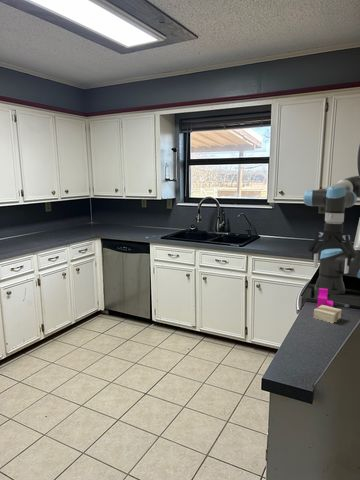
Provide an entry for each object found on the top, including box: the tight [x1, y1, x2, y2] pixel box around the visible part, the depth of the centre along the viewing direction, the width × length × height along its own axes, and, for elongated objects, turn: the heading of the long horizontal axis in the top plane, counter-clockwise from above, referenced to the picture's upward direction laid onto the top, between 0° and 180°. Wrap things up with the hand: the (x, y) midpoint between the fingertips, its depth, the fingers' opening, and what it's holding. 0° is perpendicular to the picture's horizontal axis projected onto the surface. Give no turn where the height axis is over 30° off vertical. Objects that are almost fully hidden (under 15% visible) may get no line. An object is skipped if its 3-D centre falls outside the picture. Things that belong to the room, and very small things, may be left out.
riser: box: [313, 305, 342, 324], centre depth 144 cm, size 8×8×5 cm
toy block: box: [316, 288, 334, 308], centre depth 158 cm, size 15×6×8 cm, turn 157°
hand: (330, 270), depth 155 cm, fingers open, 13 cm apart
